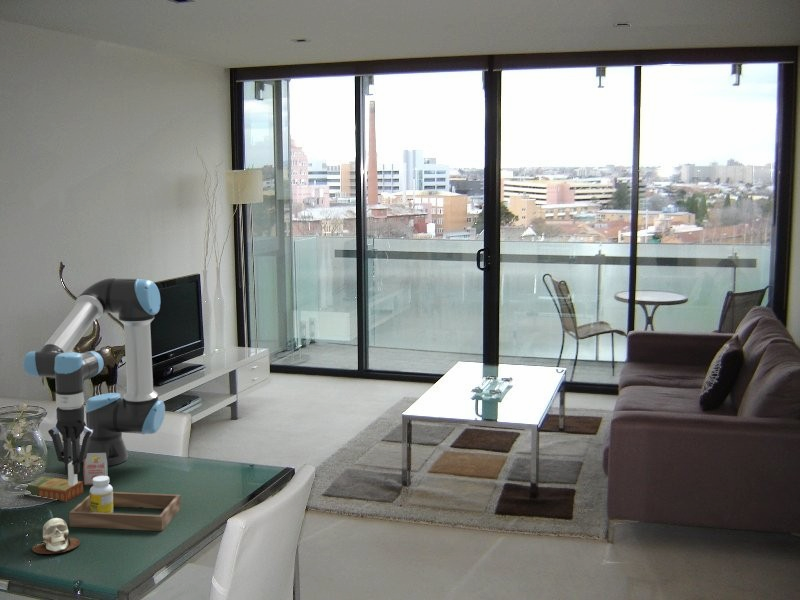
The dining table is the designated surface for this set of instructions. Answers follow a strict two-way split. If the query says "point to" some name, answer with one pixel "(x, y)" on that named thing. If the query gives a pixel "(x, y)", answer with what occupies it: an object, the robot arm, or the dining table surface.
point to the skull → (56, 538)
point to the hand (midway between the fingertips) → (73, 484)
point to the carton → (55, 488)
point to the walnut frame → (128, 521)
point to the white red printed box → (94, 467)
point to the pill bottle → (101, 495)
